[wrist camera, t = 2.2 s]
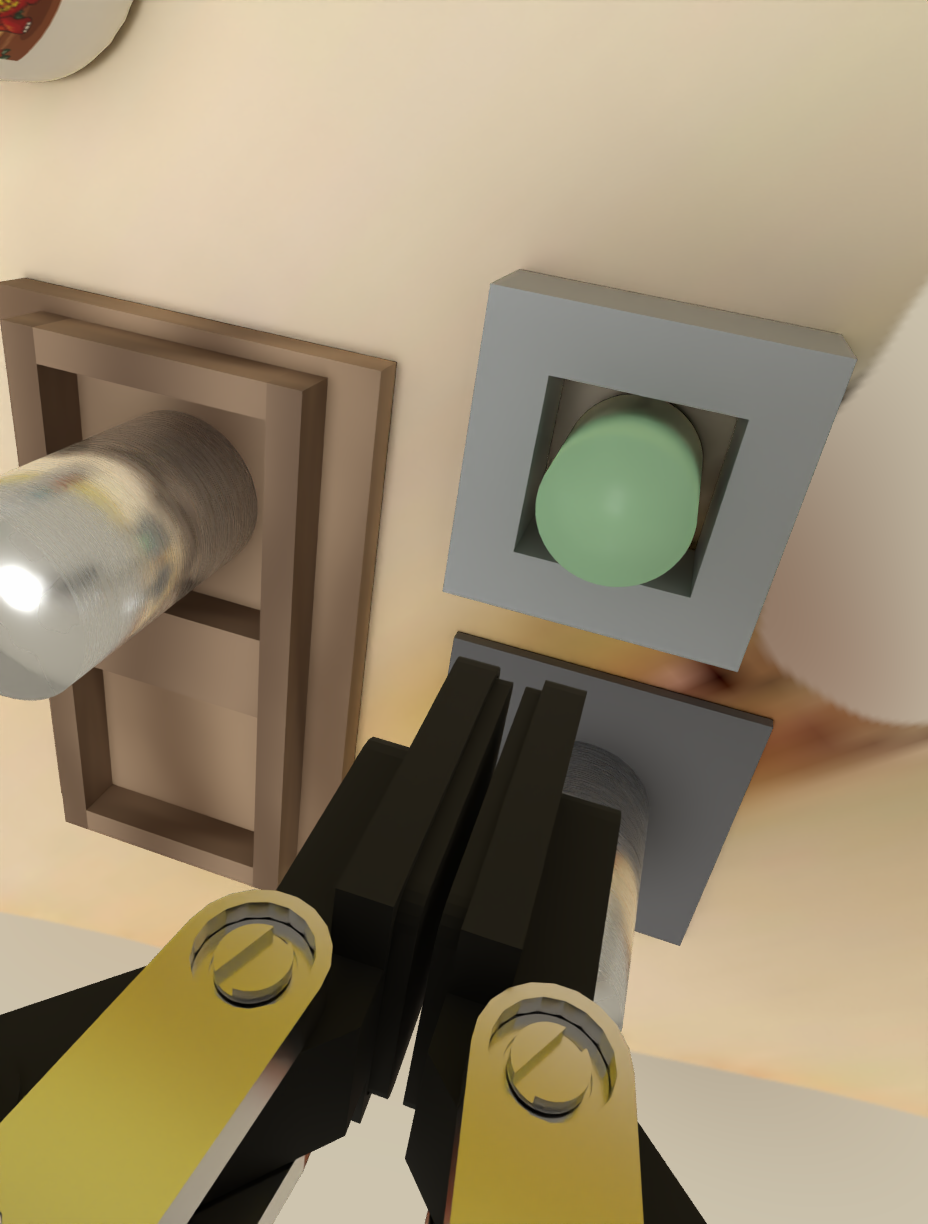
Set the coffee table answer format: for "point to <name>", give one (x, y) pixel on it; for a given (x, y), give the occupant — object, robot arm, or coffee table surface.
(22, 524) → the cylinder
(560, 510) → the button
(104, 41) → the milk bottle
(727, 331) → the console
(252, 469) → the brown cruet tray
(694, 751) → the mat
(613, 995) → the silver rounded cylinder
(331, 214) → the coffee table surface
